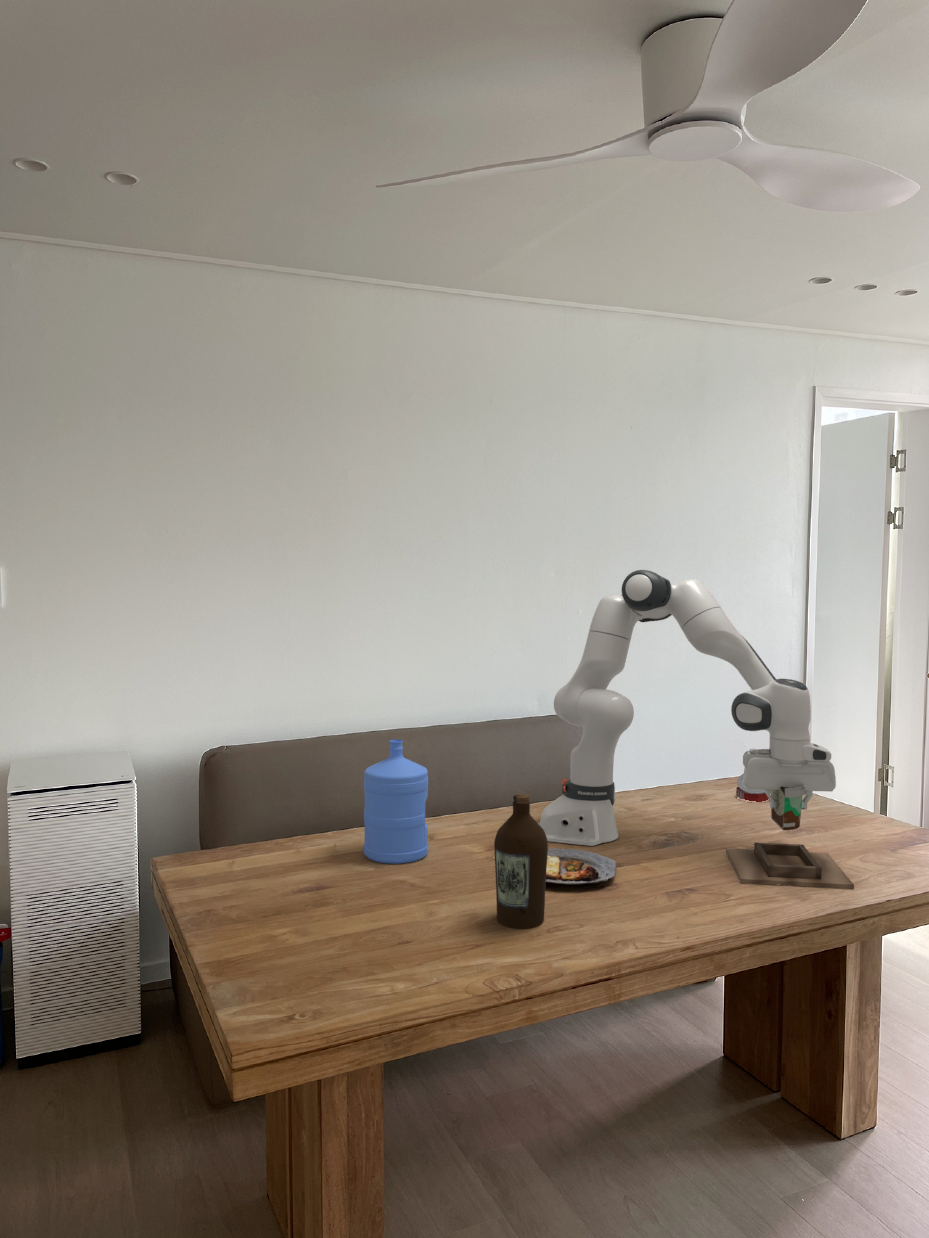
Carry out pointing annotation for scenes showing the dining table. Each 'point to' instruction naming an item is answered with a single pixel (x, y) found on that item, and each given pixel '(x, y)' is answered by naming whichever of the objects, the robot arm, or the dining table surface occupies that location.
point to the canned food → (749, 792)
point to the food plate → (578, 867)
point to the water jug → (395, 809)
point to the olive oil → (520, 868)
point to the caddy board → (787, 866)
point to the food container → (788, 807)
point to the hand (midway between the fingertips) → (788, 808)
